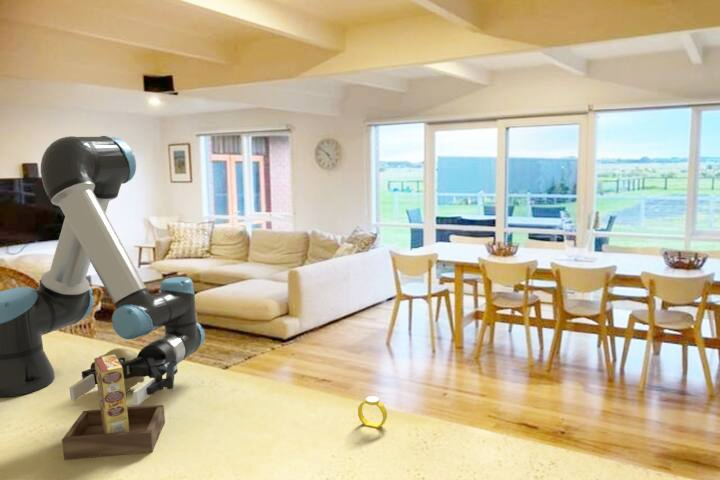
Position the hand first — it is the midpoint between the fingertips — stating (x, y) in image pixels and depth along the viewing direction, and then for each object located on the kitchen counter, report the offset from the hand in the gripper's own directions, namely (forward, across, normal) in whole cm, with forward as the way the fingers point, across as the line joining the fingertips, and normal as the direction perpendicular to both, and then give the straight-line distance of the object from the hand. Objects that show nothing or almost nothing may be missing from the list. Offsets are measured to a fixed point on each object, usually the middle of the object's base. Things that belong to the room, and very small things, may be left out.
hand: (103, 396), depth 111 cm
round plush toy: (-25, +14, -11) cm, 30 cm away
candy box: (-3, 0, -10) cm, 10 cm away
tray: (-3, 0, -10) cm, 11 cm away
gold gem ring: (-16, -49, -11) cm, 53 cm away
